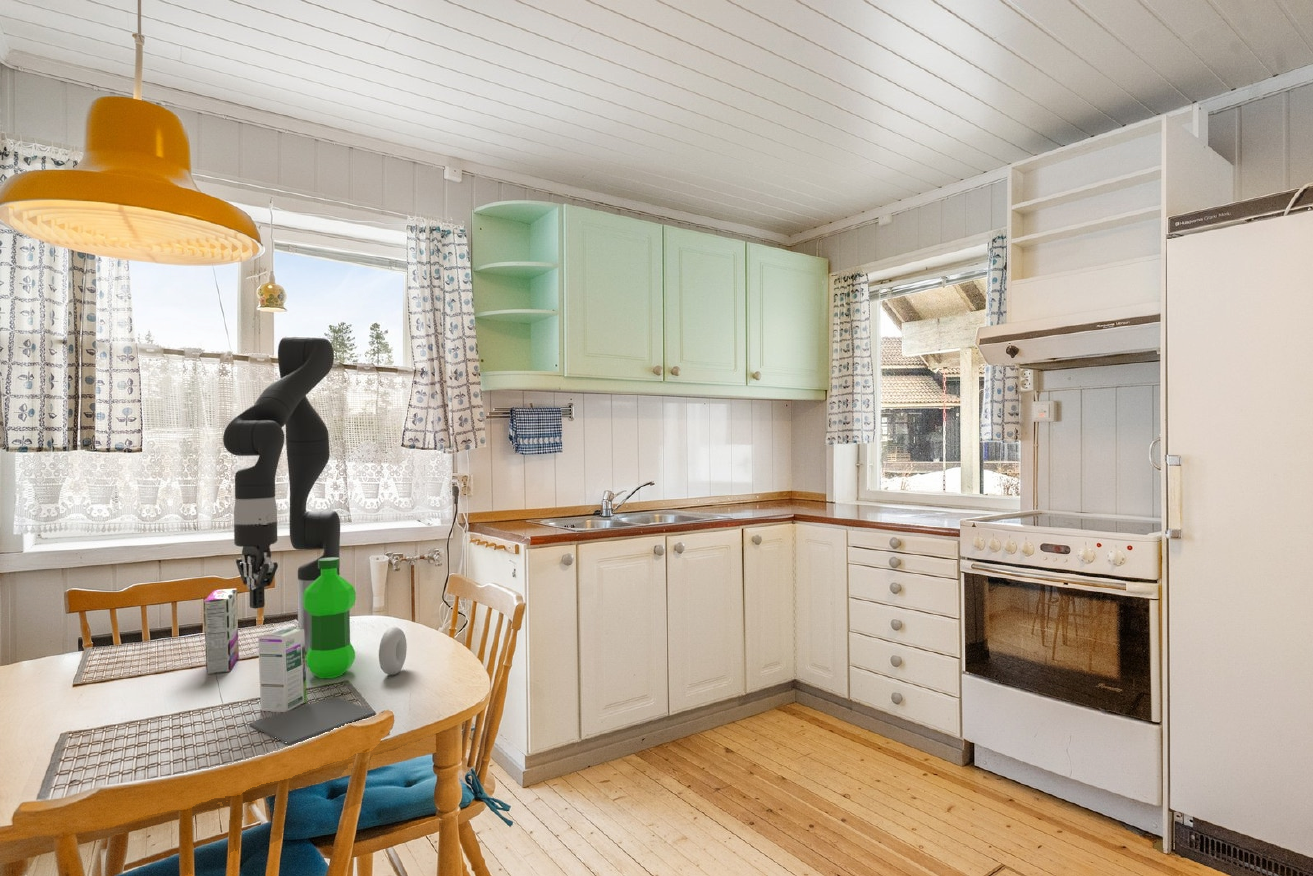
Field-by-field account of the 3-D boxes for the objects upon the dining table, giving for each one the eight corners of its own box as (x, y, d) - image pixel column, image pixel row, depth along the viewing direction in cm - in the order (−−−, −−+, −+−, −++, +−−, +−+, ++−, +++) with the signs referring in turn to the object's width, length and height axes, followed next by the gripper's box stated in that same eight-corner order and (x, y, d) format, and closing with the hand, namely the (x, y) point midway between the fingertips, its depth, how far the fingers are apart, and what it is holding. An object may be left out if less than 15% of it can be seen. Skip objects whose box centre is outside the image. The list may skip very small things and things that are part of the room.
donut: (394, 666, 161) (393, 621, 161) (409, 666, 161) (408, 621, 161) (376, 682, 151) (375, 634, 151) (392, 682, 151) (392, 634, 151)
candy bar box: (214, 660, 167) (213, 589, 167) (239, 657, 169) (238, 587, 168) (204, 675, 156) (202, 600, 156) (230, 672, 158) (229, 597, 158)
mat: (249, 725, 129) (249, 723, 129) (334, 698, 142) (334, 696, 142) (288, 745, 121) (288, 742, 121) (375, 714, 133) (375, 711, 133)
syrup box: (286, 713, 134) (285, 636, 134) (259, 711, 136) (257, 634, 135) (307, 702, 140) (305, 627, 140) (280, 700, 141) (279, 626, 141)
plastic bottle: (364, 666, 161) (362, 554, 161) (342, 683, 150) (340, 563, 150) (320, 666, 161) (318, 555, 161) (295, 683, 151) (292, 563, 150)
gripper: (220, 520, 144) (222, 607, 144) (251, 524, 137) (253, 616, 137) (259, 517, 150) (260, 600, 150) (291, 520, 143) (292, 608, 143)
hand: (257, 607), depth 143 cm, fingers closed
